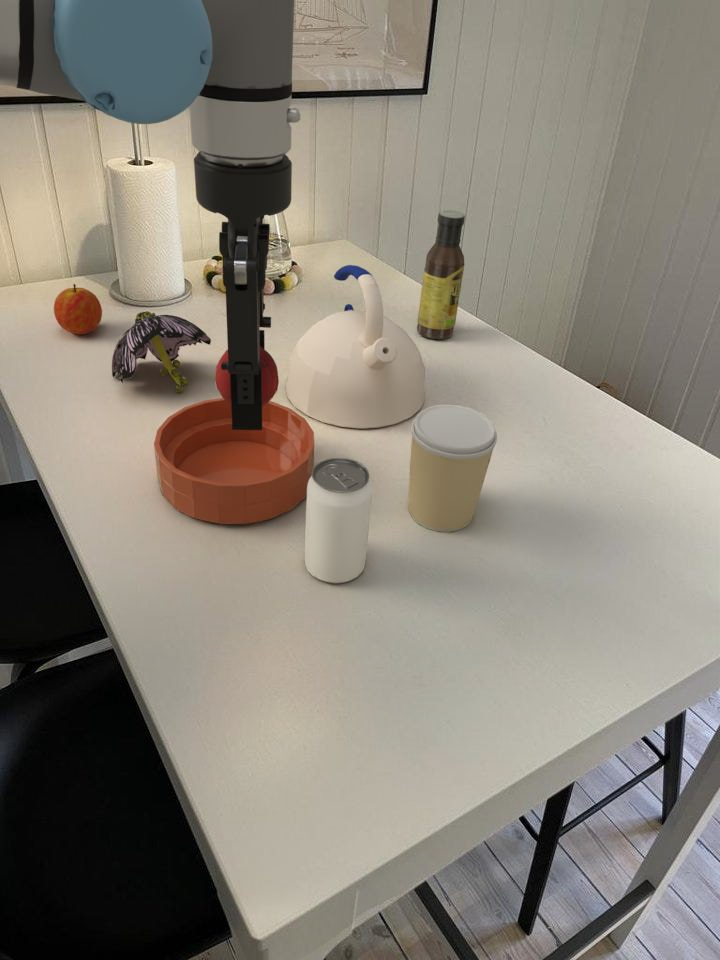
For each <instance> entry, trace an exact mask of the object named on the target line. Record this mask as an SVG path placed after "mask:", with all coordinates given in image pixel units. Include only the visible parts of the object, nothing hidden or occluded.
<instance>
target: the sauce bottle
mask: <svg viewBox="0 0 720 960" xmlns="http://www.w3.org/2000/svg"><path fill="white" fill-rule="evenodd" d="M465 217H466V216H465V213H462V212H461V211H458V210H452V209H443V210H441V211H439V212H438V215H437V224H438V225H437V233H436V237H435V243H434V244H433V245H432V247H431V248H430V249H429V251H428V252H427V254H426V258H425V265H424V270H423V277H422V284H421V292H420V299H419V306H418V313H417V314H418V316H417V327H416V328H417V332H418V334H419V335H420V336H422V337H424V338H428V339H432V340H444V339H448V338H449V337H451V336H452V335H453V334H454V329H455V328H454V327H455V326H456V321H457V314H458V309H459V308H458V307H459V301H460V295H461V291H462V290H461V288H462V283H463V278H464V277H463V276H464V270H465V255H464V253H463V251H462V249H461V246H460V244H461V237H462V231H463V226H464V224H465Z"/></svg>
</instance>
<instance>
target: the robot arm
mask: <svg viewBox="0 0 720 960" xmlns="http://www.w3.org/2000/svg"><path fill="white" fill-rule="evenodd" d="M294 16H295V0H0V85H2V86H7V87H14V88H16V89H21V90H26V91H30V92H34V93H38V94H42V95H43V94H44V95H49V96H55V97H61V98H67V99H71V100H78V101H82V102H83V101H84V102H85V103H86V104H87V105H89V106H90V107H92V108H94V109H95V110H98V111H100V112H102V113H103V114H105V115H107V116H109V117H112V118H114V119H116V120H119V121H123V122H126V123H129V124H136V125H153V124H158V123H163V122H166V121H169V120H171V119H172V118H175V117H177V116H178V115H180V114H181V113H183V112H185V111H186V110H187V109H188V108H189V116H190V133H191V144H192V146H193V148H195V149H196V150H197V151H198V153H197V154H196V156H195V157H194V158H193V166H194V167H193V168H194V183H195V198H196V201H197V203H198V205H199V206H200V207H202V208H203V209H205V210H206V211H208V212H211V213H213V214H219V215H221V216H223V217H225V218H226V219H227V221H221V231H219V234H218V249H219V254H220V255H221V257H222V284H223V287H224V288H225V309H226V310H225V311H226V339H227V350H228V362H226V361H223V362H222V364H221V368H222V370H228V372H229V374H230V385H231V409H232V430H262V364H261V361H260V360H259V346H260V347H262V348H263V349H265V350H266V348H265V347H266V345H265V330H264V329H260V328H265V329H266V328H267V329H268V328H269V329H271V328H272V316H264V311H265V310H266V303H265V302H264V301H265V300H264V288H265V286H266V281H267V279H266V273H267V271H266V270H267V269H268V255H269V251H270V240H271V239H270V238H271V237H270V234H271V231H270V229H271V225H270V223H264V219H265V216H268V217H271V216H274V215H278V214H280V213H283V212H284V211H286V210H287V209H288V208H289V207H290V205H291V203H292V186H293V185H292V179H293V178H292V177H293V176H292V175H293V173H292V172H293V164H292V161H291V159H290V158H289V156H287V155H286V154H288V153H289V151H291V149H292V126H291V124H295V123H298V122H300V120H301V112H300V109H298V108H295V107H294V108H293V107H292V108H290V107H291V105H292V103H293V101H292V94H293V53H294V51H293V50H294V22H295V21H294V18H295V17H294Z"/></svg>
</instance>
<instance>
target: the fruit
mask: <svg viewBox="0 0 720 960" xmlns="http://www.w3.org/2000/svg"><path fill="white" fill-rule="evenodd" d="M72 285H73V287H68V288H66V289H64V290H62V291H60V293H59V294H58V295H57V296H56V297H55V299H54V304H53V314H54V318H55V320H56V323H58V325H59V326H60V327H61V328H62V329H63V330H64V331H67V332H69V333H71V334H75V335H79V336H80V335H81V336H84V335H87V334H88V333H90V332H93V331H94V330H96V329H97V328H98V326H99V325H100V323H101V321H102V316H103V309H102V305H101V302H100V300H99V299H98V297H97V296H96V294H94V293H93V292H92V291H91V290H88V289H86V288H83V287H76V286H77V285H76V284H75V283H73V284H72Z"/></svg>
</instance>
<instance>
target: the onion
mask: <svg viewBox="0 0 720 960" xmlns="http://www.w3.org/2000/svg"><path fill="white" fill-rule="evenodd" d="M259 360H260V361H261V364H262V407H263V406H264V405H266V404H267V403H268V402H269V401H272V399H273V398H274V397H275V394H276V393H277V392H278V389H279V382H280V380H279V372H278V371H279V370H278V366H277V364H276V362H275V359H274V358H273V356H272V355H271V354H270V353H269V352H268V351H267V350H266V348H265V349H263V348H262V347H260V346H259ZM223 361H226V362H228V349H227V350H225V352H224V353H223V354H222V356H221V357H220V358H219V360H218V361H217V364H216V368H215V373H214V381H215V388H216V390H217V392H218V393H219V394H220V396H221V398H224V400H225V401H227V402H228V403H230V404H231V385H230V374H229V372H228V370H222V368H221V364H222V362H223Z"/></svg>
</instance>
